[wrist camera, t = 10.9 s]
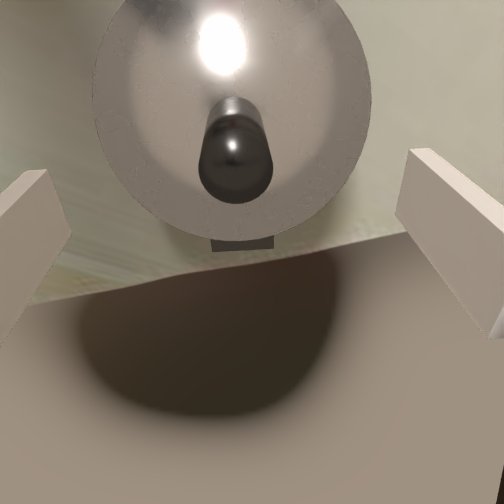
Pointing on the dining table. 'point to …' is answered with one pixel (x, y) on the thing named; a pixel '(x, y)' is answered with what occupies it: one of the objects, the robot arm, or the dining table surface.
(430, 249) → the robot arm
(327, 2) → the lid
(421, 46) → the dining table surface
